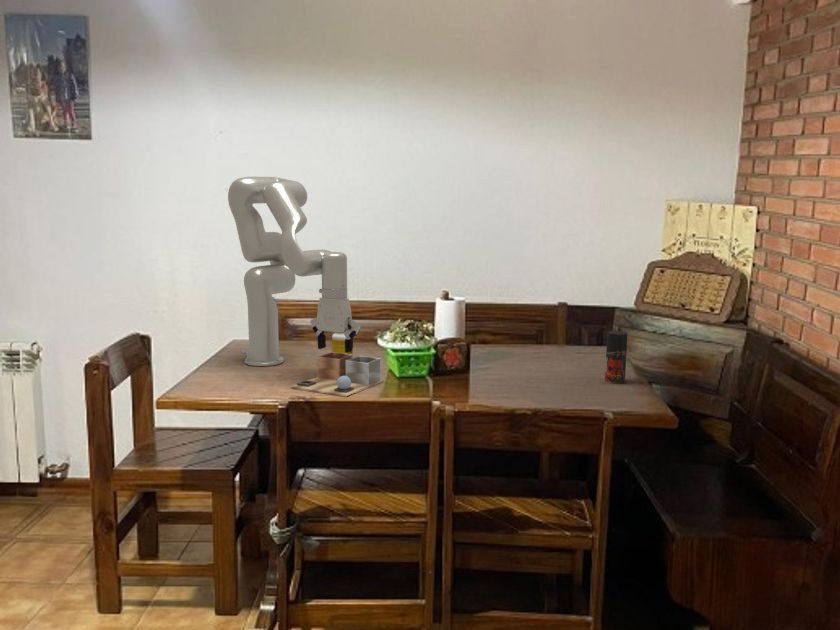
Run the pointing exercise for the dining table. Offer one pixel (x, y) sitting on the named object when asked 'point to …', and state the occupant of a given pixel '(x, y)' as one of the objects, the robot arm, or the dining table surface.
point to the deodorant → (616, 357)
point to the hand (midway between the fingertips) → (335, 350)
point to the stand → (343, 374)
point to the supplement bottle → (339, 343)
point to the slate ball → (344, 382)
